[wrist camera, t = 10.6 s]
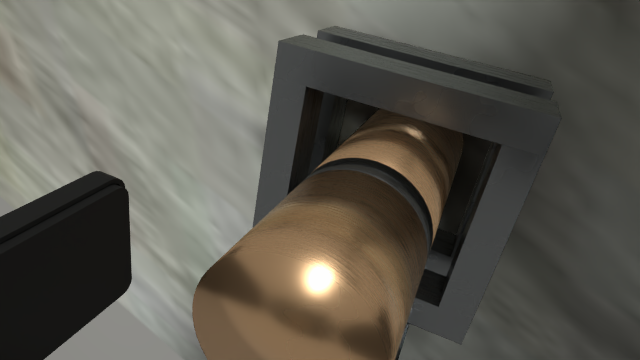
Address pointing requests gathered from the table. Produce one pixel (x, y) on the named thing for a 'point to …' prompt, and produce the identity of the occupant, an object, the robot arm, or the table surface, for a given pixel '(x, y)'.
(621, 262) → the table surface
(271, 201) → the collar bracket
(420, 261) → the copper tube
